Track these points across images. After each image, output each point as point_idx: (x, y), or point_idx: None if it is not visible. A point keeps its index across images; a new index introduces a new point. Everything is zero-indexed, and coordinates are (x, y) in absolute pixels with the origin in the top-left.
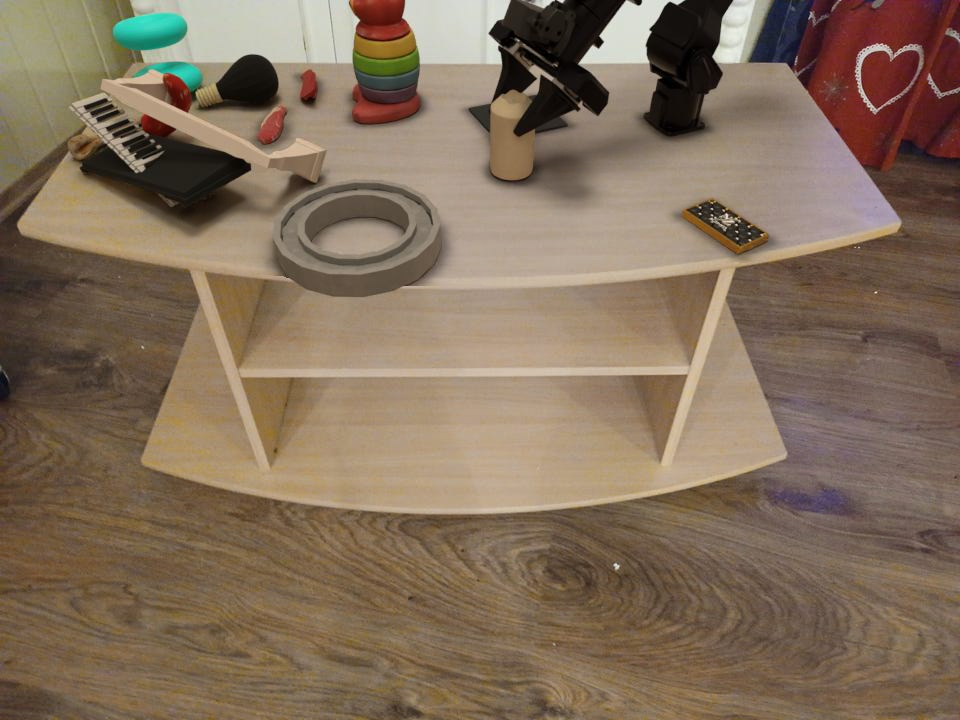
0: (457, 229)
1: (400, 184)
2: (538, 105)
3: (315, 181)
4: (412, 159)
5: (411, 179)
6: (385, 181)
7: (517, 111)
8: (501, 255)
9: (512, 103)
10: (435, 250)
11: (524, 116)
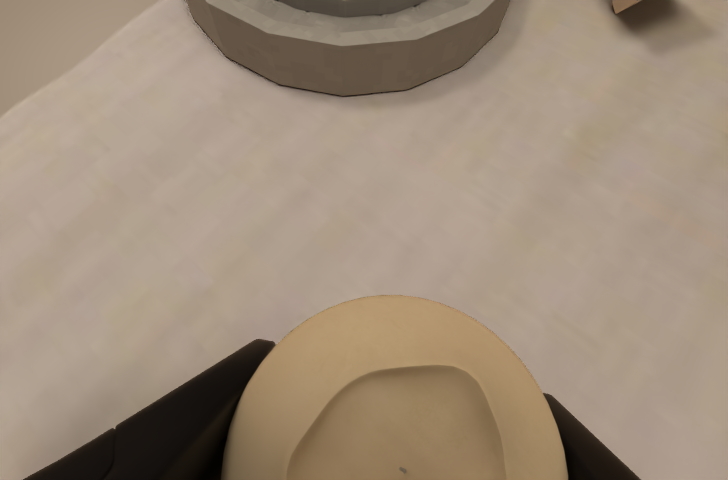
0: (252, 119)
1: (427, 33)
2: (36, 475)
3: (615, 4)
4: (613, 228)
5: (514, 166)
6: (464, 18)
7: (275, 388)
8: (97, 128)
9: (392, 447)
10: (190, 2)
11: (205, 395)
